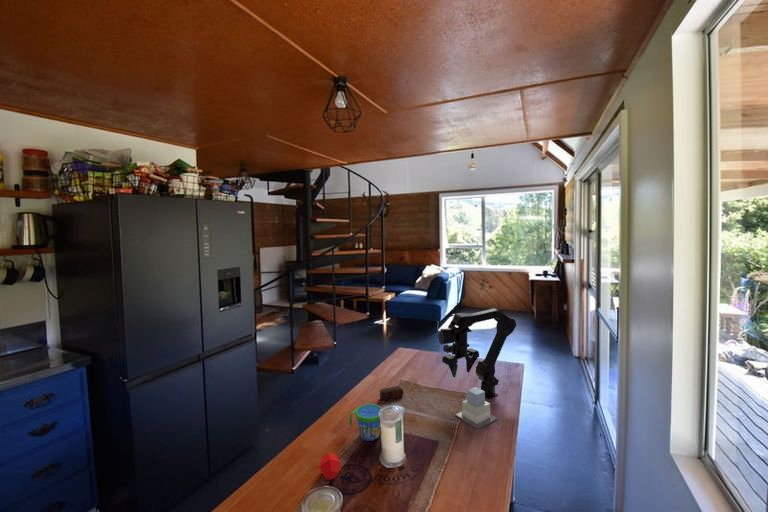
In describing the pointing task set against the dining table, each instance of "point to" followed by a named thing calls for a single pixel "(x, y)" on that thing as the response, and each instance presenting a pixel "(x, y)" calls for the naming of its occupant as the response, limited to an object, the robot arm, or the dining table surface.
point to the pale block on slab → (476, 414)
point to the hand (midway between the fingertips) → (461, 374)
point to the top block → (476, 396)
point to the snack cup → (367, 421)
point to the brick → (391, 393)
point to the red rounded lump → (329, 466)
